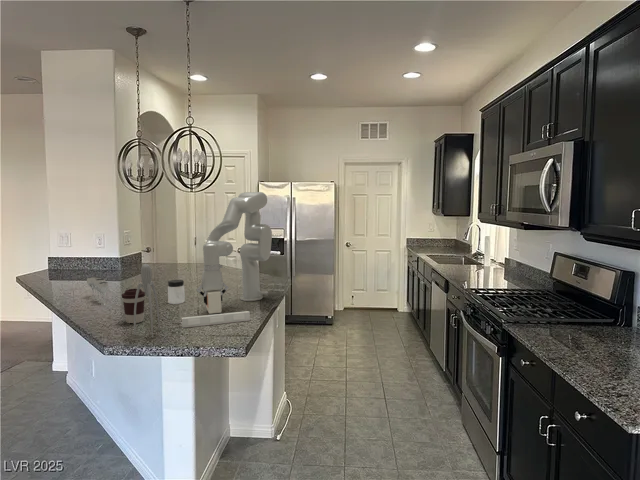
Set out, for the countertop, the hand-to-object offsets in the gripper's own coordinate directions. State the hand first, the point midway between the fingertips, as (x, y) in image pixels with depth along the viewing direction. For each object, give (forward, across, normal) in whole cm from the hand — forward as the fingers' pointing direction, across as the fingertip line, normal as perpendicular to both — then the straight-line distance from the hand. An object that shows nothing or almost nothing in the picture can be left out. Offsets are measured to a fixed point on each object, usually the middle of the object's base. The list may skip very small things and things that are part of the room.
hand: (213, 303), depth 218 cm
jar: (+5, +16, -30) cm, 34 cm away
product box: (+4, 0, 0) cm, 4 cm away
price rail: (+4, +1, +21) cm, 22 cm away
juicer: (+4, +31, +26) cm, 41 cm away
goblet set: (+5, +57, -52) cm, 77 cm away
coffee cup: (+4, +36, +3) cm, 37 cm away
